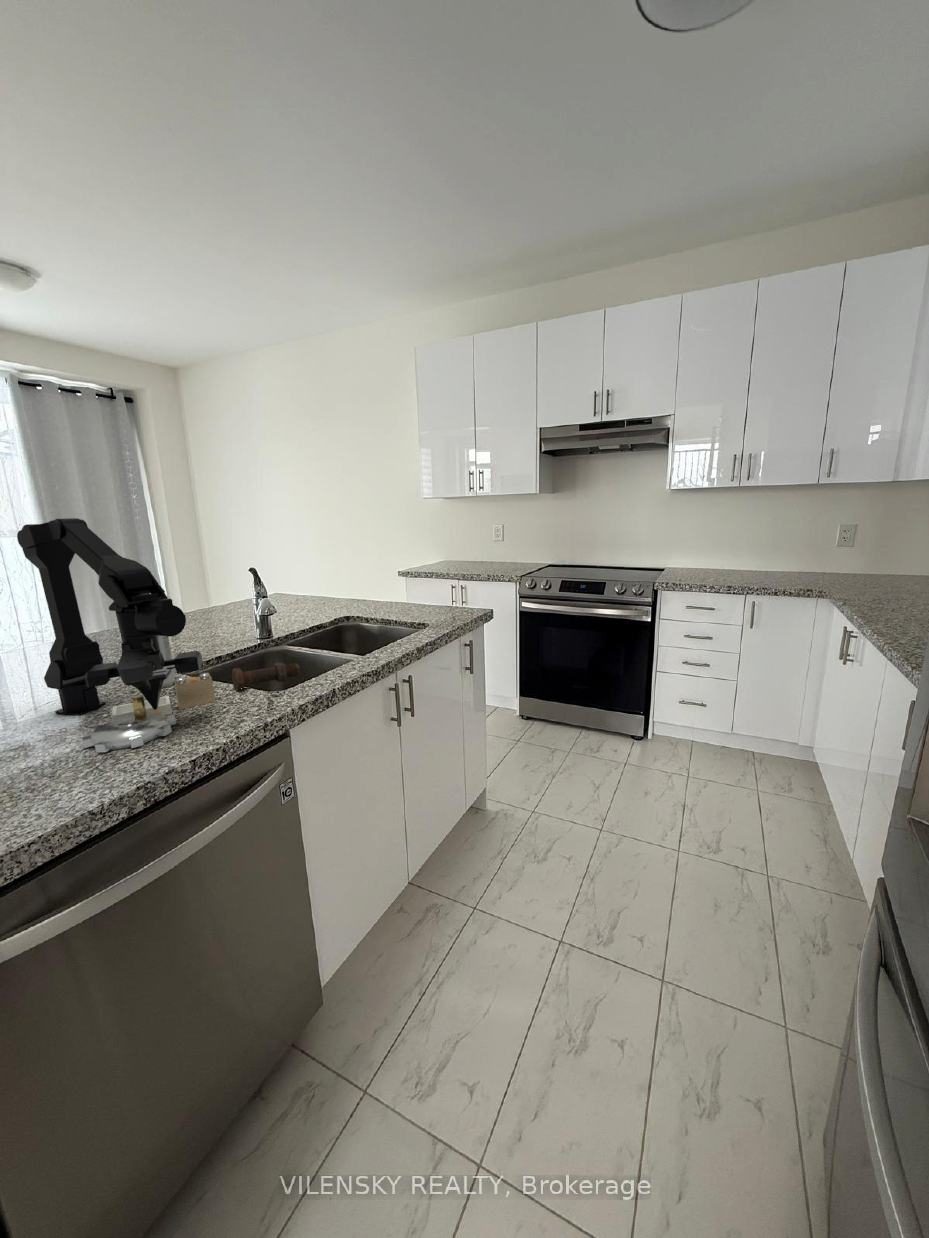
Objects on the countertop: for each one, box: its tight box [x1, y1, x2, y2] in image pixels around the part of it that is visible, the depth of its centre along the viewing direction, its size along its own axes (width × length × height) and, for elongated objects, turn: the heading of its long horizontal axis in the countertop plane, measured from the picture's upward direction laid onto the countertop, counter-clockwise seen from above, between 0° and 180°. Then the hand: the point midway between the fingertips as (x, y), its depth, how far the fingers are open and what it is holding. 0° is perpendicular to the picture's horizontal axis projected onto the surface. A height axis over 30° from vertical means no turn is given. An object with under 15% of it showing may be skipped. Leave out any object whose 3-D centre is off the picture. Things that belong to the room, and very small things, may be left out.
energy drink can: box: [158, 636, 176, 689], centre depth 121 cm, size 6×6×15 cm
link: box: [173, 672, 216, 711], centre depth 109 cm, size 7×4×6 cm, turn 124°
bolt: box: [231, 662, 301, 692], centre depth 121 cm, size 6×5×15 cm
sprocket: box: [81, 695, 177, 753], centre depth 93 cm, size 15×15×6 cm
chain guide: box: [111, 695, 173, 721], centre depth 104 cm, size 10×6×2 cm, turn 124°
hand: (155, 708), depth 99 cm, fingers closed
